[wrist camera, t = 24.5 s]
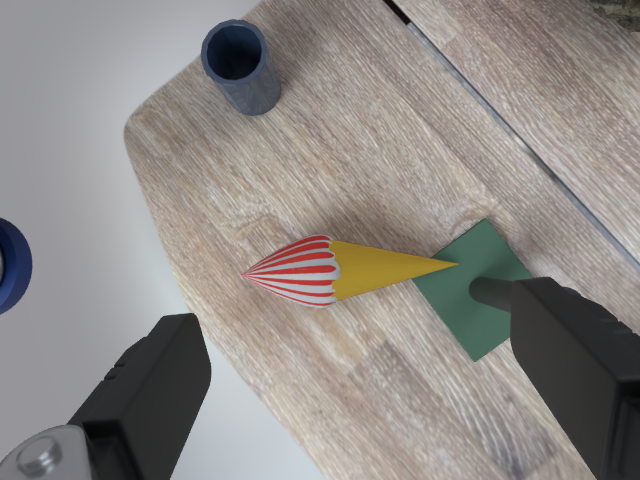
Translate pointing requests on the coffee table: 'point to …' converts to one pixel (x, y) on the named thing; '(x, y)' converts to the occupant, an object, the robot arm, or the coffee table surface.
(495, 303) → the cylinder
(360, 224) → the coffee table surface
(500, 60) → the coffee table surface
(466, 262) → the felt pad
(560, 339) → the robot arm
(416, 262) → the ice cream cone
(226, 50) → the pen cup
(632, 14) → the mineral specimen
